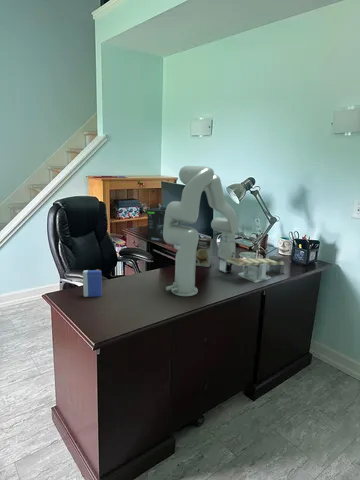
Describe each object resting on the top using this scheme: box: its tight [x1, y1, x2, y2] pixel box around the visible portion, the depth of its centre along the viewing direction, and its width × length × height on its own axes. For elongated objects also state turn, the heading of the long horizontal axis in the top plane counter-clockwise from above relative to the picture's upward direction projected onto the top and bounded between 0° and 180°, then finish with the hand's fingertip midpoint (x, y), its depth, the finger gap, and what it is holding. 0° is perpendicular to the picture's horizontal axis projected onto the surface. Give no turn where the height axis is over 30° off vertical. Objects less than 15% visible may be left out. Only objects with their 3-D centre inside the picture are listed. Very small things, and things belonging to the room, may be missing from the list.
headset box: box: [147, 206, 180, 243], centre depth 257 cm, size 22×12×26 cm, turn 73°
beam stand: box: [237, 257, 285, 284], centre depth 187 cm, size 26×13×9 cm, turn 124°
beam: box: [227, 255, 285, 267], centre depth 183 cm, size 36×8×4 cm, turn 124°
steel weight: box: [219, 259, 228, 273], centre depth 191 cm, size 5×5×6 cm
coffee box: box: [196, 237, 213, 268], centre depth 201 cm, size 9×6×16 cm
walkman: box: [82, 269, 103, 298], centre depth 153 cm, size 8×3×12 cm, turn 96°
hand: (225, 269), depth 192 cm, fingers closed on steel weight, 5 cm apart
